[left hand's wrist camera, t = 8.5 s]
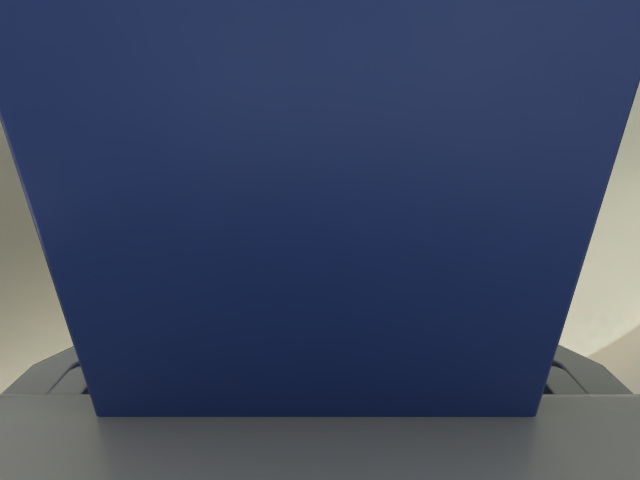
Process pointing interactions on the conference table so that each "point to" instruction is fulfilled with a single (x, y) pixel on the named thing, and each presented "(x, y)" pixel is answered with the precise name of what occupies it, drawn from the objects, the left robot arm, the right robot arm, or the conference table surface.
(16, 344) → the conference table surface
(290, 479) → the left robot arm
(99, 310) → the box
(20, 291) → the conference table surface
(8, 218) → the conference table surface
